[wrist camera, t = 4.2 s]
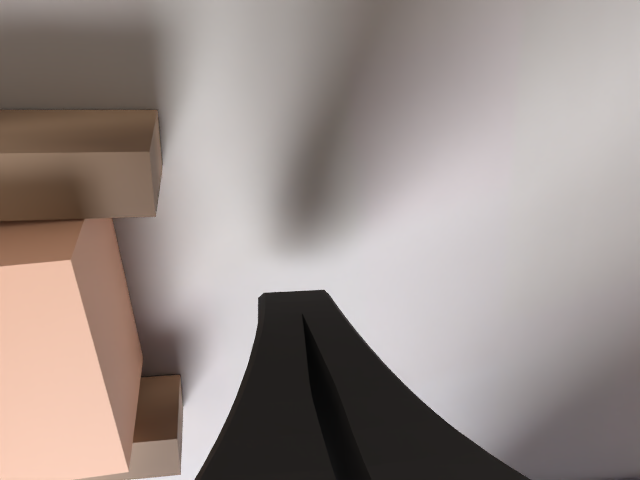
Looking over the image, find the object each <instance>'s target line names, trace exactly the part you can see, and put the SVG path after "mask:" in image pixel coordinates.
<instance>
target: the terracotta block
mask: <svg viewBox="0 0 640 480" xmlns="http://www.w3.org/2000/svg"><path fill="white" fill-rule="evenodd" d="M142 364H143V355H142V351H141V346H140V342H139V337H138V333H137V328H136V324H135V319H134V315H133V310H132V306H131V301H130V297H129V292H128V288H127V283H126V279H125V274H124V269H123V265H122V260H121V256H120V251H119V247H118V242H117V238H116V233H115V229H114V224H113V220H112V218H92V219H57V220H22V221H0V480H75V479H82V478H89V477H97V476H104V475H111V474H118V473H125V472H129V467H130V459H131V451H132V443H133V435H134V427H135V420H136V412H137V404H138V396H139V388H140V380H141V372H142Z"/></svg>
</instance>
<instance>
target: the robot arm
mask: <svg viewBox="0 0 640 480" xmlns="http://www.w3.org/2000/svg"><path fill="white" fill-rule="evenodd" d="M195 480H530V479H529V478H527V477H526V476H524V475H522V474H521V473H519V472H517V471H516V470H514V469H512V468H511V467H509V466H508V465H506V464H504V463H503V462H501V461H500V460H498V459H497V458H495V457H494V456H492V455H491V454H489V453H488V452H487V451H485V450H484V449H482V448H481V447H480V446H478V445H477V444H475V443H474V442H473V441H471V440H470V439H468V438H467V437H466V436H464V435H463V434H462V433H460V432H459V431H457V430H456V429H455V428H454V427H452V426H451V425H450V424H448V423H447V422H446V421H445V420H443V419H442V418H441V417H440V416H439V415H438V414H436V413H435V412H434V411H433V410H432V409H431V408H429V407H428V406H427V405H426V404H425V403H424V402H423V401H422V400H420V399H419V398H418V397H417V396H416V395H415V394H414V393H413V392H412V391H411V390H410V389H409V388H408V387H407V386H406V385H405V384H404V383H403V382H402V381H401V380H400V379H399V378H398V377H397V376H396V375H395V374H394V373H393V372H392V371H391V370H390V369H389V368H388V367H387V366H386V365H385V364H384V363H383V361H382V360H381V359H380V358H379V357H378V356H377V355H376V353H375V352H374V351H373V350H372V349H371V348H370V347H369V345H368V344H367V343H366V342H365V341H364V340H363V338H362V337H361V336H360V335H359V334H358V332H357V331H356V330H355V329H354V327H353V326H352V325H351V324H350V322H349V321H348V320H347V318H346V317H345V316H344V314H343V313H342V312H341V310H340V309H339V308H338V306H337V305H336V304H335V302H334V301H333V299H332V298H331V297H330V295H329V294H328V293H327V292H326V291H325V290H312V291H292V292H272V293H263V294H262V295H261V296H260V297H259V298H258V326H257V331H256V336H255V340H254V344H253V348H252V351H251V355H250V359H249V362H248V366H247V369H246V371H245V374H244V377H243V380H242V382H241V385H240V388H239V391H238V393H237V396H236V399H235V401H234V403H233V406H232V408H231V410H230V413H229V415H228V417H227V419H226V422H225V424H224V426H223V428H222V430H221V432H220V434H219V436H218V438H217V440H216V442H215V444H214V446H213V448H212V449H211V451H210V453H209V455H208V457H207V459H206V461H205V463H204V464H203V466H202V468H201V470H200V471H199V473H198V475H197V476H196V478H195Z"/></svg>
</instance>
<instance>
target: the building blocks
mask: <svg viewBox="0 0 640 480" xmlns="http://www.w3.org/2000/svg"><path fill="white" fill-rule="evenodd" d="M161 175H162V157H161V145H160V133H159V122H158V110H0V221H22V220H57V219H92V218H127V217H156V211H157V204H158V197H159V189H160V182H161ZM182 426H183V401H182V390H181V378H180V375H169V376H155V377H141V380H140V388H139V396H138V404H137V412H136V420H135V427H134V435H133V443H132V451H131V459H130V467H129V472H125V473H118V474H111V475H104V476H97V477H89V478H82V479H75V480H131V479H141V478H151V477H161V476H171V475H181V451H182Z"/></svg>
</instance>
